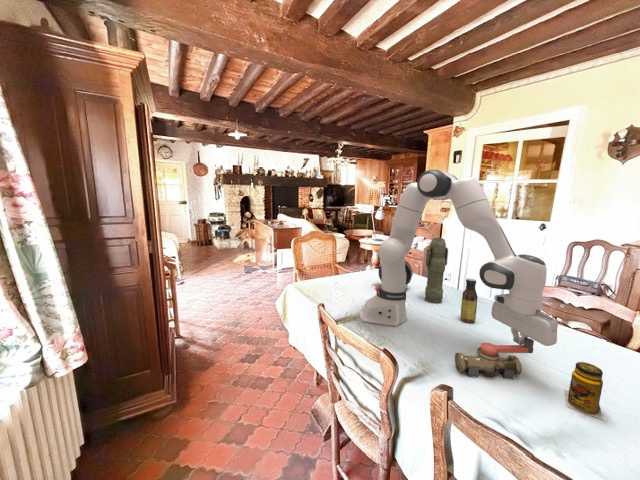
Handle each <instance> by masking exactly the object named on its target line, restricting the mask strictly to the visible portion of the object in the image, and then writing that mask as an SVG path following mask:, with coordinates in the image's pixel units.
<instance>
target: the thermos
mask: <svg viewBox="0 0 640 480" xmlns="http://www.w3.org/2000/svg"><path fill="white" fill-rule="evenodd" d="M429 243H430V245H429V246H428V247H427V249H426V257H425V266H426V267H427V279H426V287H425V290H424V292H425V293H424V296H425V297H424V301H425V302H427V303H430V304H435V305H438V304H439V305H440V304H442V303H443V296H444V289H443V286H444V285H443V283H444V273H445V271H446V266H448V257H449V248H448V247H447V245H446V240H445V238H444V237H443V238H442V237H433V238H431V242H429Z"/></svg>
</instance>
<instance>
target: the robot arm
mask: <svg viewBox="0 0 640 480" xmlns="http://www.w3.org/2000/svg"><path fill="white" fill-rule="evenodd" d="M430 200H433V201H434V200H435V201H436V200H437V201H438V200H440V201H445V200H450V201H451V203H452V205H453V207H454V210H455V213H456V215H457V218H458V220H459V222H460V224H461V225H462V226H463V227H465V229H468V230H470V231H473V232H475V233H477V234H479V235H480V236H482V237H483V239H484V240H485V241H486V243H487V245H488V247H489V249H490V251H491V253H492V255H493V257H494V260H491V261H488V262H485V263H483V265H481V267H480V269H479V273H478V274H479V278H480V281H481V282H482V283H483V285H485V286H487V288H491V289H496V290H507V291H509V292H508V293H502V294H501V293H500V294H496V295H494V296H493V298H494V301H493V303H492V307H491V314H490V315H491V317H492V319H493V320H495V321H497V322H500V323H501V324H503V325H505V326H508V327H509V328H510V332H511V335H512V337H513V338H512V342H514V343H516V344H517V345H524V339H525V338H529V339H532V340H533V341H534V342H537V343H539V344H541V345H542V346H544V347H549V346H554V345H556V344H557V341H558V328H559V327H558V326H559V322H558V321H557V320H556V318H555V317H554V316H553V315H550V314H547V313H545V312H543V311H542V307H543V302H544V297H543V292H544V290H545V287H546V283H547V273H548V272H547V265H546V263H545V261H544V260H542V259H541V258H539V257H536V256H534V255H530V254H525V253H524V254H522V253H521V254H518V255H517V254H516V253H515V251H514V250H513V248H512V245H511V244H510V242H509V240H508V238H507V236H506V234H505V232H504V230H503V228H502V226H501V224H500V223H499V222H498V219H497V218H496V215H495V213H494V211H493V208H492V206H491V204H490V201H489V199H488V196H487V195H486V192H485V191H484V189H483V187H482V185H481V184H480V182H479V181H478V180H477V178H475V177H473V176H463V177H461V178H457V177H456V176H455V175H453V174H451V173H449V172H447V171H444V170H443V171H442V170H439V169H429V170H425V171H424V172H422V173H421V174H420V176H419V177H418V178H417V182H411V183H408V185H406V187H405V189H404V191H403V192H402V193H401V197H400V198H399V201H398V203H397V206H396V208H395V212H394V215H393V218H392V220H391V229H390V233H389V236H388V238H386V239H384V240H383V241H382V242H381V244H379V247H378V250H377V254H378V257H379V261H380V265H381V269H382V281H381V280H380V281H381V284H380V286H378V285H376V286H375V287H374V291H375V292H376V294H375V295H373V296H372V297H370V298H367V299H366V301H365V304H364V305H363V307H362V308H360V309H359V311H358V316H359V319H360V320H361V321H362V322H363V323H367V324H368V323H369V324H376V325H383V326H391V327H398V326H399V325H400V324H404V323H406V322H407V321H408V317H407V313H406V312H407V311H406V301H407V288H406V286H407V285H406V271H405V260H406V256H407V255H408V254H410V251H411V249H412V247H413V246H412V245H413V243H414V239H415V237H416V232H417V230H418V226H419V223H420V221H421V218H422V216H423V214H424V210H425V208H426V206H427V203H428V202H430Z"/></svg>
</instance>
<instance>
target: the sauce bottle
mask: <svg viewBox="0 0 640 480" xmlns="http://www.w3.org/2000/svg"><path fill="white" fill-rule="evenodd" d="M465 282H466V283H465V285H466V286H465V288H464V290H463V291H462V297H461V305H460V306H461V308H460V320H461V321H462V322H464V323H468V324H473V323H475V322H476V318H477V307H478V299H479V298H478V293H477V290H476V285H477V279H474V278H466V280H465Z"/></svg>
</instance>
